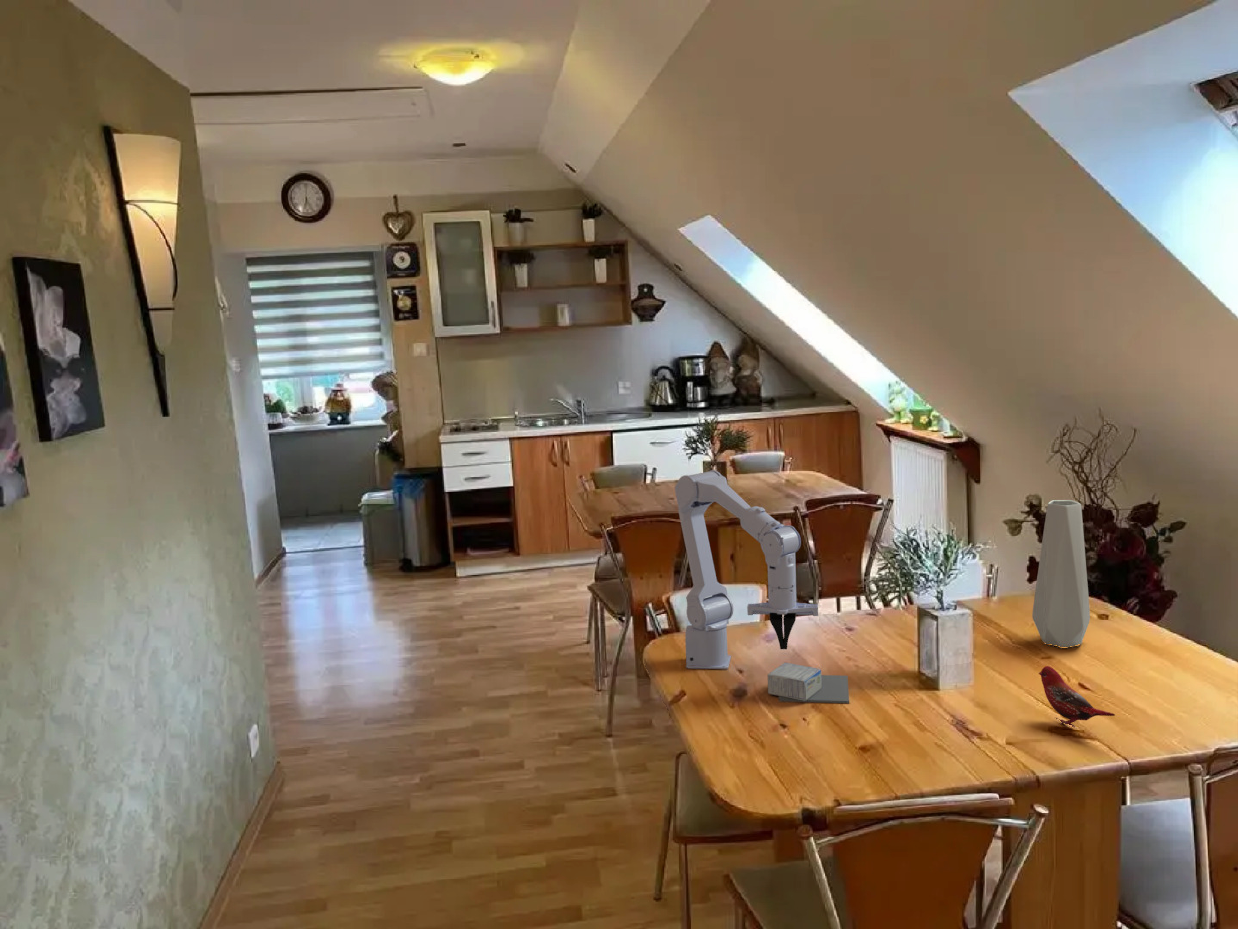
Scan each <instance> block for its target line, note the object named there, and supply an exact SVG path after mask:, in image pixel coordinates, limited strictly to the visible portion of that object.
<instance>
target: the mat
mask: <svg viewBox="0 0 1238 929" xmlns="http://www.w3.org/2000/svg"><path fill="white" fill-rule="evenodd" d="M821 681H822V684H821V689H820V690H819V691H817V692H816V693H815V694H813V695H812V696H811V697H810V698H808V699H807V700H806V701H803V700H798V699H793V698H788V697H783V696H778V702H791V703H818V704H819V703H820V704H821V703H822V704H823V703H825V704H850V694H849V693H850V692H849V679H848V675H834V674H833V675H831V674H830V675H829V674H828V675H827V674H821Z"/></svg>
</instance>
